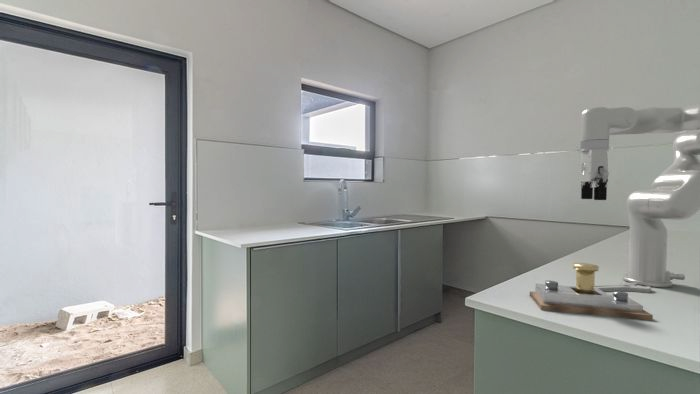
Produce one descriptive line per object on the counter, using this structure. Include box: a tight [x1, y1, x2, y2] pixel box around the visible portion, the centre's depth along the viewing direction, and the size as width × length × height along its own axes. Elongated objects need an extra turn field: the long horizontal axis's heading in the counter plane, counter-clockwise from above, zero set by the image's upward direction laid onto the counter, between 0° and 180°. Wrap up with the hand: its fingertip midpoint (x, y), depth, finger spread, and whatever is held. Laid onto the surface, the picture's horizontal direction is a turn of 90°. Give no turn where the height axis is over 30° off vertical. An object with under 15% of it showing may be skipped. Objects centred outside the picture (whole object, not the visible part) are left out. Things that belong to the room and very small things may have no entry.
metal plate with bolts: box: [534, 279, 644, 312], centre depth 88 cm, size 22×8×5 cm, turn 74°
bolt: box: [572, 262, 600, 295], centre depth 88 cm, size 6×6×10 cm
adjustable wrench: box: [573, 282, 652, 293], centre depth 104 cm, size 25×6×2 cm, turn 90°
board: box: [529, 291, 654, 321], centre depth 88 cm, size 24×12×1 cm, turn 74°
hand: (593, 199), depth 107 cm, fingers open, 9 cm apart
